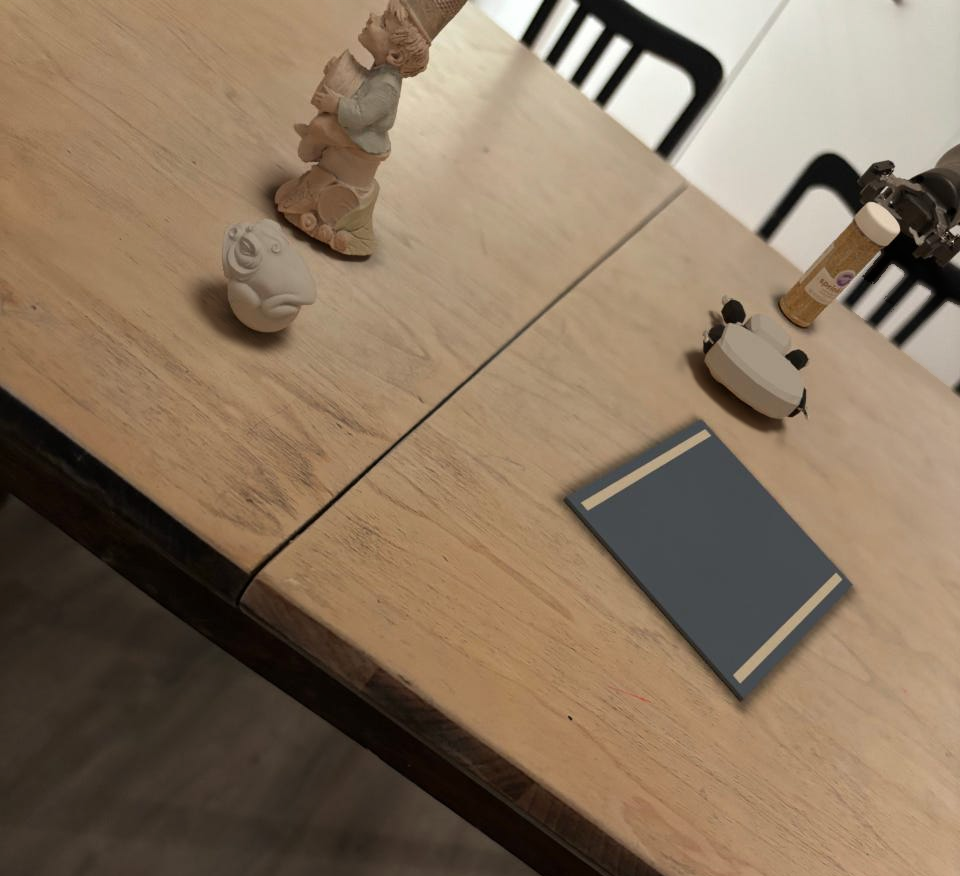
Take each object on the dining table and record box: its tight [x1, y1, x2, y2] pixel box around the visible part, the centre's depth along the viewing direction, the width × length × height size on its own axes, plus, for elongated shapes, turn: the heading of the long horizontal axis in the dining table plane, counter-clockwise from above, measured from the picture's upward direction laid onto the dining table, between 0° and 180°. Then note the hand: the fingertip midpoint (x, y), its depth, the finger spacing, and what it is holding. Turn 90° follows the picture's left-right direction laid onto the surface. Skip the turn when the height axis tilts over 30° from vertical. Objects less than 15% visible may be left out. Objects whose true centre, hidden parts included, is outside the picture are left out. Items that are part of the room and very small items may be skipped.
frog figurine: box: [221, 218, 318, 333], centre depth 66 cm, size 6×7×7 cm
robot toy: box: [701, 294, 811, 421], centre depth 96 cm, size 12×4×15 cm
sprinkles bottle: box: [779, 201, 901, 328], centre depth 105 cm, size 5×5×14 cm
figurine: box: [274, 0, 469, 256], centre depth 71 cm, size 9×8×20 cm
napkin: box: [563, 418, 853, 702], centre depth 80 cm, size 22×20×1 cm
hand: (894, 222), depth 110 cm, fingers open, 8 cm apart
